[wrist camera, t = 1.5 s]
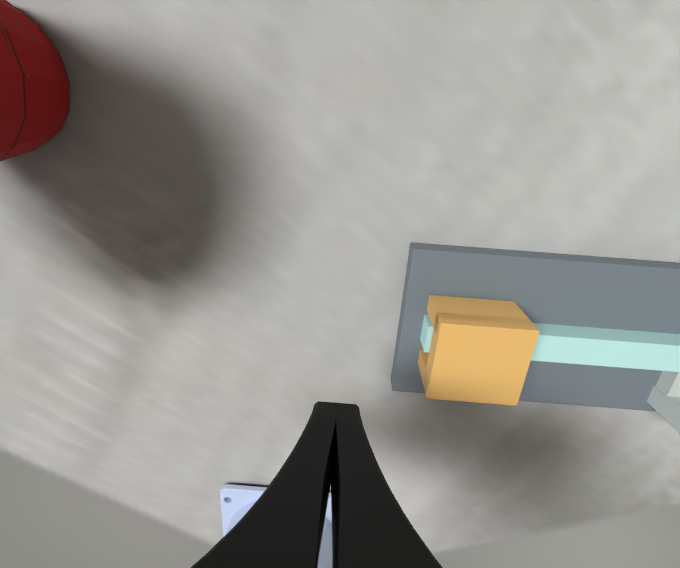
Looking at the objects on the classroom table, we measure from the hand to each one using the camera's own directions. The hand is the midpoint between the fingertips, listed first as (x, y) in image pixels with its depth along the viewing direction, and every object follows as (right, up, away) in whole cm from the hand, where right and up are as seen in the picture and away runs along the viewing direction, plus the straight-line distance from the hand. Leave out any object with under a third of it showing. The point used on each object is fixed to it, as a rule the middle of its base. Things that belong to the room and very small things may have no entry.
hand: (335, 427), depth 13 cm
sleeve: (+6, +2, +7) cm, 9 cm away
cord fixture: (+13, +2, +8) cm, 15 cm away
